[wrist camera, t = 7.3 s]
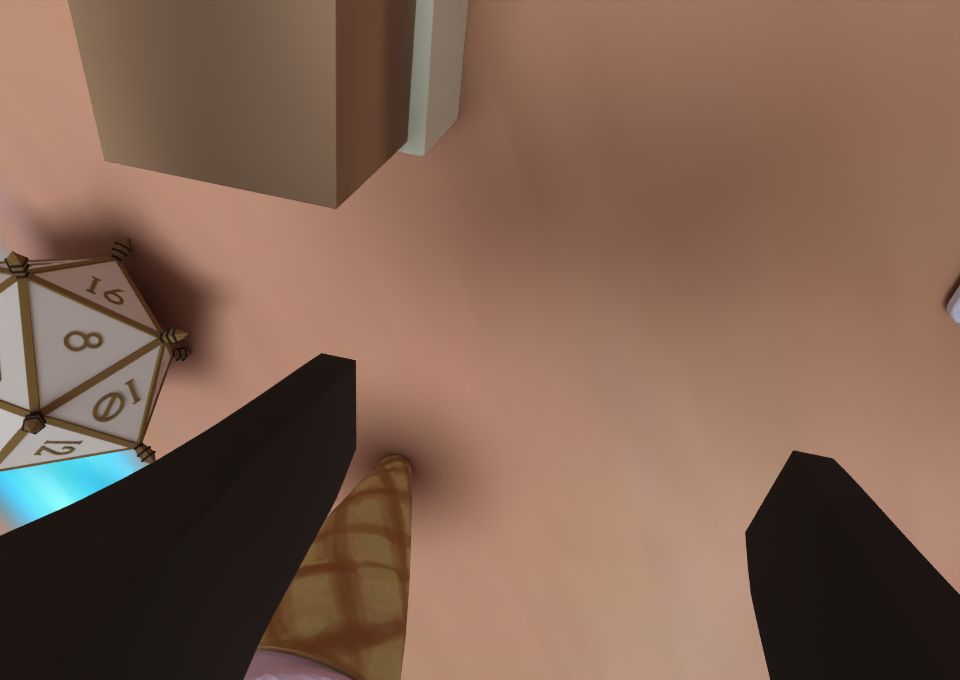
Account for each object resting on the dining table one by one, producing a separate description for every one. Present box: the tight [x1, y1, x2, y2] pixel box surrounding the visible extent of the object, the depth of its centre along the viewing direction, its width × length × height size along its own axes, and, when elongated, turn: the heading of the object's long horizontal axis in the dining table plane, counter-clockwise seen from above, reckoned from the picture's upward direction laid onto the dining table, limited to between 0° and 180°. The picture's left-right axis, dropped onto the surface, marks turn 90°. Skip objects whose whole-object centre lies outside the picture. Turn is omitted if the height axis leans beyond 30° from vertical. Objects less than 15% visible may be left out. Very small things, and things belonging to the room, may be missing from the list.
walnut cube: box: [68, 0, 416, 209], centre depth 11 cm, size 4×4×4 cm
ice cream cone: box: [244, 455, 412, 680], centre depth 20 cm, size 7×6×15 cm
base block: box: [397, 0, 469, 156], centre depth 15 cm, size 6×6×4 cm
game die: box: [0, 238, 192, 471], centre depth 21 cm, size 9×8×10 cm
